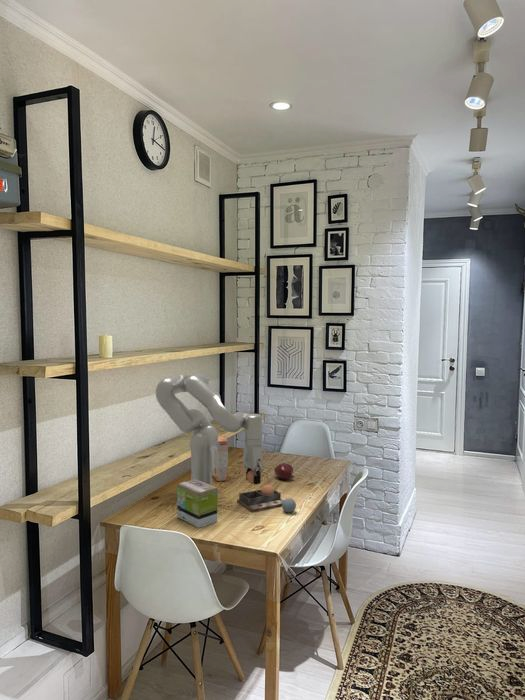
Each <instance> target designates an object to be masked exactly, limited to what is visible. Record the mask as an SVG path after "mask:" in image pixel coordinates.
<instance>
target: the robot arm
mask: <svg viewBox="0 0 525 700" xmlns="http://www.w3.org/2000/svg"><path fill="white" fill-rule="evenodd" d="M179 393H189V394H190V395H191V396H192V397H193V398H194V399H195V400H197V401H198V402H199V403H201V405H202V406H204V407H205V408H206V410H207V412H208V413H209V414H210V416H211V417H212V419H213V420H214V421H215V423H216V424H218V425H219V426H220V427H222V428H223V429H224V430H225V431H227V432H228V433H237V432H239V431H240V430H243V429H244V446H243V453H242V454H243V455H242V456H243V457H242V464H243V466H244V467H245V472H246V473H245V474H246V475H245V478H246V479H245V480H246V481H248V480H247V474H248V472H249V471H251V470H254V474H255V475H254V484H253V485H260V484H261V482H262V481H261V475H262V472H263V471H264V467H263V449H262V445H263V444H262V443H263V441H262V440H263V438H262V437H263V434H262V433H263V432H262V431H263V429H262V427H263V420H262V415H261V414H259V413H246V412H241V411H238V412H234V413H232V412H230V411H229V410H228V409H227V408H226V407H225V405H224V404H223V403H222V399H221V395H220V393H219V392H218V391H216V389H214V388H213V387H212V386H211V385H209V379H208V377H207V376H206V375H204V374H203V373H188V374H186V373H185V374H174V375H171V376H166V377H165V378H162V379H161V380H160V381H159V382H158V384H157V385H156V388H155V397H156V401H157V402H158V404H159V406H160V407H161V408H162V409H163V410H164V411H165V413H166V414H167V415H168V417H169V418H170V419H171V420H172V422H174V424H175V426H177V427H178V429H179V430H180V431H181V432H182V433H186V434H188V433H191V432H192V433H193V434H192V435H191V438H189V439H190V440H189V449H190V457H191V458H190V460H191V461H190V462H191V463H190V466H191V469H190V470H191V471H190V472H191V475H190V480H193V479H197V480H200V481H202V482H205V483H207V484H210V485H212V486H213V477H212V454H211V447H212V446H214V445H215V444H216V443H217V441H218V435H219V433H218V430H217V429H216V428H215V426H214V425H213V424H212V423H211V422H210V421H209V419H208V418H207V417H206V415H205V414H203V413H202V411H201V410H198V409H197V408H195V409H194V408H192V409H188V408H187V406H186V404H184V403H183V402H182V401H181V400H180V399H179V398H178V397H177V396H176V394H179ZM256 471H257V472H256ZM248 482H249V481H248Z"/></svg>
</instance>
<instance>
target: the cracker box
mask: <svg viewBox="0 0 525 700" xmlns="http://www.w3.org/2000/svg"><path fill="white" fill-rule="evenodd" d="M211 454H212V479H215V481H216V482H222V481H223V482H224V481H228V478H229V476H228V471H229V468H228V467H229V463H228V462H229V440H228V439H226V438H225V437H224V436H222V435H220V434H218V441H217V443H216V444H215V445H214V446H212V447H211Z"/></svg>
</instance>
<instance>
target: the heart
mask: <svg viewBox="0 0 525 700" xmlns="http://www.w3.org/2000/svg"><path fill="white" fill-rule="evenodd" d="M273 470H274V473H275V475H276V477H277V478H279V479H280V480H283V481H286V480H290V479H292V476H293V473H294V468H293V466H292V465H291V464H290V463H286V462H282V463H279V464H278V465H276V466H275V468H274V469H273Z"/></svg>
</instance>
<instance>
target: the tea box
mask: <svg viewBox="0 0 525 700" xmlns="http://www.w3.org/2000/svg"><path fill="white" fill-rule="evenodd" d="M176 489H177V490H176V491H177V495H176V496H177V498H176V499H177V501H176V502H177V503H176V506H177V509H176V510H177V511H176V512H177V513H176V514H177V515H176V516H177V518H179V519H181V520H183V521H184V522H187V523H188V524H191V525H192V526H194V527H196V528H197V529H200V528H202V526H203V527H205V526H204V525H206V526H208V524H209V525H212V524H214V522H215V523H217V522H218V487H217V486H214V485H213V484H212V485H210V484H207V483H205V482H202V481H200V480H197V479H193V480H191V479H190V480H187V481H183V482H180V483H177V487H176ZM211 523H212V524H211ZM199 527H200V528H199Z"/></svg>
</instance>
